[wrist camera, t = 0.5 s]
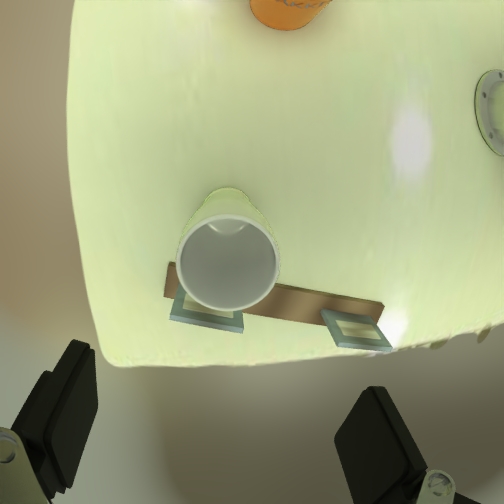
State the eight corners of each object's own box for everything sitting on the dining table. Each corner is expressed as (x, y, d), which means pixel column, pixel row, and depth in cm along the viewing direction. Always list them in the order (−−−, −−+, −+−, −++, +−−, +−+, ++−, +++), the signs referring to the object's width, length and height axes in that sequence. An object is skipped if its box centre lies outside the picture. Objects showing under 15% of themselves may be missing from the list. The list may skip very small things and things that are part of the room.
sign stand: (381, 302, 40) (409, 336, 32) (370, 328, 41) (394, 364, 34) (169, 261, 36) (156, 295, 28) (165, 292, 37) (152, 330, 30)
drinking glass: (256, 242, 36) (276, 314, 22) (194, 240, 35) (175, 311, 21) (261, 181, 33) (287, 215, 19) (196, 178, 33) (173, 211, 19)
